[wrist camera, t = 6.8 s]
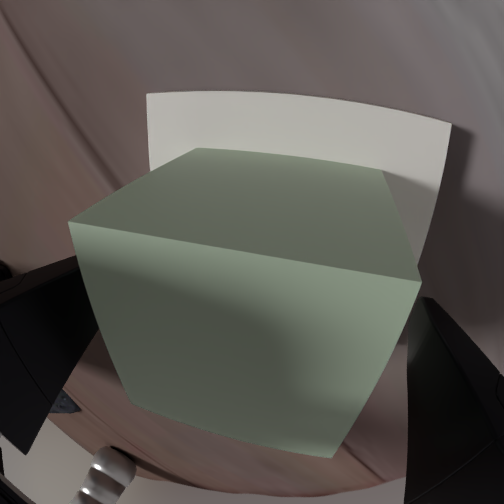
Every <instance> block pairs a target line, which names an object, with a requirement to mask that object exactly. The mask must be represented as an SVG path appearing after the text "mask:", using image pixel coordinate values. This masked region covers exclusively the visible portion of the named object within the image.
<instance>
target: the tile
mask: <svg viewBox="0 0 504 504" xmlns="http://www.w3.org/2000/svg"><path fill="white" fill-rule="evenodd" d="M147 124H148V144H149V160H150V172H151V171H153V170H154V169H156V168H158V167H160V166H162V165H164V164H166V163H168V162H169V161H171V160H173V159H175V158H177V157H179V156H181V155H183V154H185V153H187V152H189V151H191V150H193V149H195V148H214V149H228V150H241V151H252V152H262V153H272V154H281V155H290V156H298V157H305V158H313V159H320V160H327V161H333V162H340V163H346V164H352V165H358V166H364V167H369V168H375V169H380V170H381V171H382V173H383V175H384V177H385V180H386V182H387V185H388V187H389V189H390V192H391V194H392V197H393V199H394V202H395V204H396V207H397V210H398V212H399V215H400V218H401V220H402V223H403V226H404V228H405V231H406V234H407V237H408V240H409V243H410V246H411V249H412V252H413V255H414V258H415V261H416V264H417V265H418V262H419V259H420V256H421V253H422V250H423V247H424V243H425V240H426V237H427V233H428V230H429V226H430V223H431V219H432V216H433V212H434V208H435V204H436V200H437V196H438V192H439V188H440V183H441V179H442V174H443V170H444V165H445V160H446V155H447V149H448V144H449V138H450V132H451V125H452V124H451V123H449V122H446V121H444V120H441V119H437V118H434V117H430V116H426V115H422V114H418V113H414V112H409V111H405V110H400V109H396V108H391V107H386V106H381V105H376V104H370V103H364V102H358V101H352V100H346V99H339V98H331V97H323V96H315V95H306V94H295V93H283V92H268V91H247V90H186V91H165V92H156V93H149V94H147Z"/></svg>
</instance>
